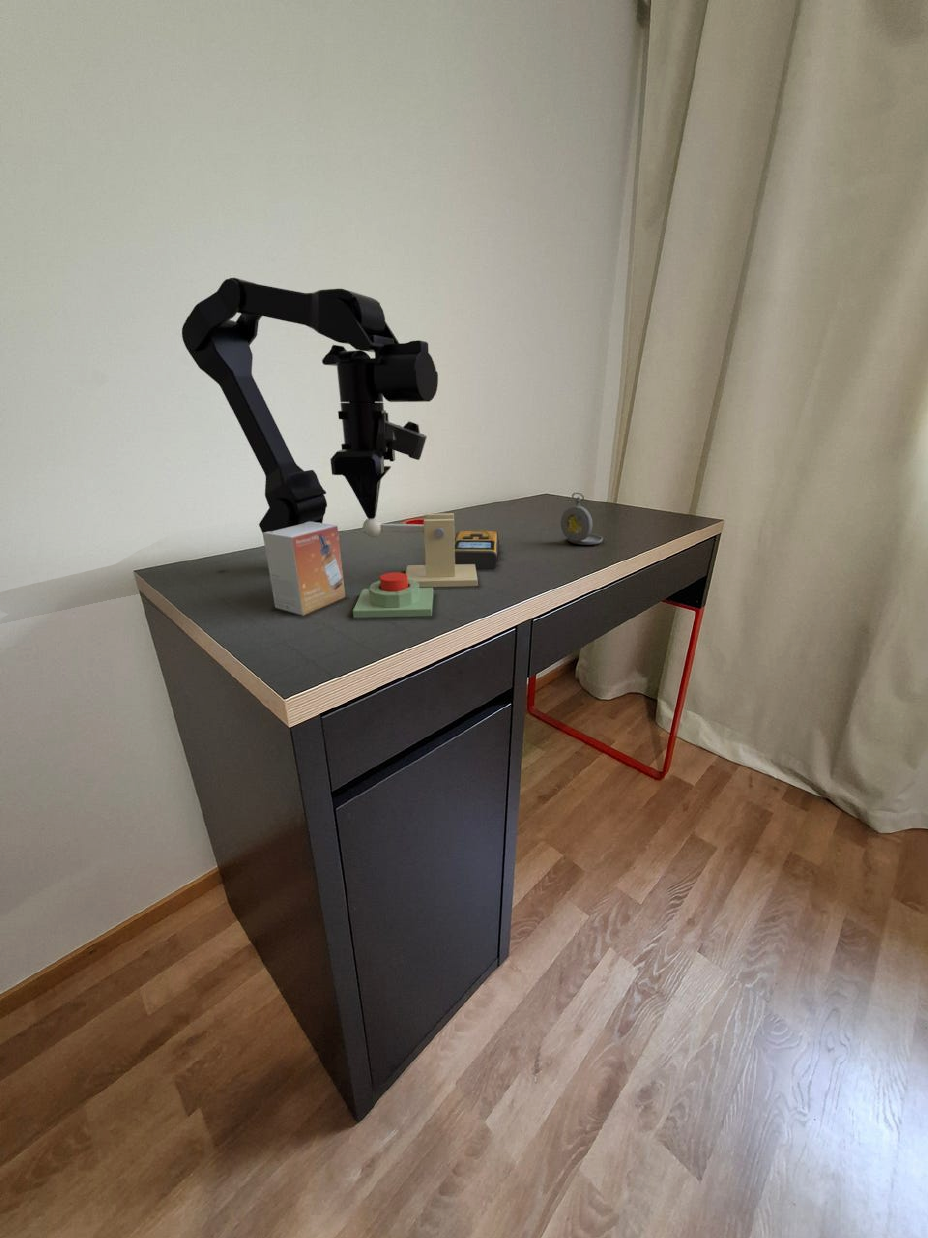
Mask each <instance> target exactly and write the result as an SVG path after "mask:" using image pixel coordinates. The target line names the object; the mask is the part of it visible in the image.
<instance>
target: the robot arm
mask: <svg viewBox="0 0 928 1238" xmlns="http://www.w3.org/2000/svg"><path fill="white" fill-rule="evenodd" d="M237 314H239V316H238V317H237V319H236V320H232V319H233V318H234V317H235V316H236V315H237ZM262 317H265V318H270V319H274V320H279V321H285V322H290V323H294V324H299V325H304V326H306V327H308V328H310V329H312V330H313V331H315V332H316V333H317V334H319V335H321V336H323V337H326V338H328V339H330V340H332V341H335V342H337V343H340V344H347V345H350V346H351V347H352V348H353V349H355V350H347V349H346V348H345V346H343V345H338V344H332V345H331V348H330V350H329V351H328V352H327V354H325V355H324V357H323V358H322V359H321V363H322V365H324V366H332V367H333V366H334V367H336V371H337V381H338V382H337V383H338V392H339V401H340V410H338V411H337V413H338V414H337V415H338V420H341V423H342V432H343V442H342V443H341V444H340V445H341V449H340V450H337V451H336V452H335V453H334V454H333V455H332V457H330V467H331V468H330V469H331V475H332V476H343V477H344V478H345V480H346V482H347V483H348V485H349V487H350V488H351V490H352V492H353V494H354V496H355V497H356V500H357V501H358V503H359V505H360V507H361V509H362V510H363V512H364V514H365V516H366V518H367V519H369V518H376V516H377V511H378V502H379V495H380V489H381V483H382V482H381V481H382V478H384V476H385V475H386V474H388V472H389V471H390V469H391V468H392V466H391V465H385V461H389V462H395V461H396V452H399V453H401V454H404V455H406V456H408V458H411V459H413V460H417V461H420V459H421V457H422V454H423V451H424V447H425V444H426V441H427V435H426V434H424V433H421V432H420V426H419V424H418V423H415V422H413V421H407V422H406V423H405V424H404V426H401V425H400V424H396V423H393V422H390V421H389V413H388V412H387V410H386V409H385V408H384V407H385V406H384V405H385V404H384V399H385V400H386V401H387V402H389V403H420V402H421V403H427V402H428V403H429V402H431V401H432V400H434V399H435V396H436V393H437V390H438V385H439V374H438V371H437V369H436V365H435V361H434V359H433V356H432V355H431V354H430V353H429V343H428V342H427V341H424V340H410V341H408V342H403V343H402V342H401V343H400V342H399V341H398V338H397V337H396V336H395V333H393V331H392V329H391V328H390V326H389V324H388V323H387V322H386V317H385V313H384V310H383V308H382V306H381V303H380V302H379V301H378V300H377V299H375V298H373V297H371V296H367V295H364V294H361V293H358V292H356V291H352V290H347V289H345V288H328V289H327V288H326V289H318V290H317V291H314V292H301V291H297V290H290V289H284V288H279V287H274V286H268V285H264V284H258V283H256V282H253V281H248V280H244V279H240V278H237V277H229V278H226V279H224V280H223V282H222V283H221V285H220V286H219V287H218V289H217V291H215V292H214V293H212V294H211V295H209V296H207V297H206V298H204V299H203V300H201V301H200V302H198V303H197V304H196V305H195V306H194V307H193V308H192V311H191V312H190V313H189V315H188V316H187V318H186V320H185V321H184V322H183V324H182V327H181V337H182V342H183V344H184V346H185V348H186V350H187V352H188V353H189V355H190V356H191V358H192V360H193V361H194V363H196V365H197V367H198V368H199V369H200V370H201V371H202V372H203V373H205V374H206V375H207V376H208V377H209V378H210V379H212V380H213V381H214V382H215V383H216V384H217V385H219V387H220V389H221V391H222V393H223V394H224V396H225V399H226V401H227V403H228V405H229V407H230V408H231V410H232V412H233V414H234V416H235V419H236V421H237V422H238V425H239V426H240V428H241V430H242V432H243V434H244V436H245V438H246V440H247V442H248V444H249V446H250V448H251V450H252V452H253V454H254V456H255V458H256V460H257V462H258V463H259V465H260V467H261V469H262V472H263V473H264V477H265V481H264V482H265V484H264V497H265V500H266V502H267V505H268V509H267V511H266V512H265V514H264V516H263V517H262V518H261V519H260V522H258V526H259V528H260V531H261V533H262V534H263V533H264V532H271V531H275V530H279V529H284V528H288V527H292V526H295V525H299V524H303V523H306V522H309V521H310V522H317V523H323V522H324V517H325V514H326V512H327V511H326V509H327V507H328V502H327V499H326V496H325V495H327V492H326V490H325V489H324V488H323V486H322V484H321V483H320V480H319V477H318V474H317V473H316V471H315V470H314V469H308V470H304V469H303V468H302V467H300V466H299V465H298V464H297V463H296V461H295V459H294V457H293V456H292V453H291V451H290V449H289V447H288V445H287V442H286V441H285V439H284V437H283V434H282V433H281V431H280V429H279V426H278V425H277V423H276V421H275V418H274V417H273V414H272V413H271V411H270V409H269V406H268V404H267V403H266V400H265V399H264V396H263V395H262V392H261V390H260V388H259V387H258V384H257V382H256V380H255V378H254V375H253V359H254V357H253V352H252V350H251V347H250V346H251V344H253V341H255V339H257V336H258V332H259V322H260V320H261V319H262ZM367 352H370V353H374V357H371V356H370V355H369V354H368V353H367Z"/></svg>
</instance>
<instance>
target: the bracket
mask: <svg viewBox="0 0 928 1238" xmlns="http://www.w3.org/2000/svg"><path fill="white" fill-rule="evenodd" d="M423 524H424V533H423V538H424V560H425V562H424V563H425V564H410V565H409V564H408V565H407V566H406V570H405V574H406V575H407V579H411V580H414V581H416V582H417V583H419V588H449V587H478V584H479V582H478V581H479V579H478V574H477V569H476V568H475V564H455V537H456V536H455V513H454V512H451V513H450V512H448V513H447V512H445V513H424V519H423Z"/></svg>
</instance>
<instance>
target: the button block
mask: <svg viewBox="0 0 928 1238" xmlns="http://www.w3.org/2000/svg"><path fill="white" fill-rule="evenodd" d="M433 605H434V587H419V583H417V582H416V581H414V580H411V579H408V588H407V589H405V590H401V591H395V592H388V591H383V590H381V585H380V579H379V580H377V581H375V582H373V583H371V584H370V585H369V588H363V589H362V590H361V592H360V594H359V597H358V599H357V600H356V603H355V605H354V607H353V609H352V617H353V618H354V619H367V618H369V619H370V618H405V617H406V618H407V617H409V618H410V617H411V618H413V617H433Z"/></svg>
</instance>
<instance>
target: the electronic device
mask: <svg viewBox="0 0 928 1238" xmlns="http://www.w3.org/2000/svg"><path fill="white" fill-rule="evenodd" d="M455 534H456V535H455V536H454V537H455V564H475V568H476V570H495V569H496V568H497V563H498V561H499V556H500V539H499V533H498V532H496V531H494V530H460V531H459V532H457V533H455Z"/></svg>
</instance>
